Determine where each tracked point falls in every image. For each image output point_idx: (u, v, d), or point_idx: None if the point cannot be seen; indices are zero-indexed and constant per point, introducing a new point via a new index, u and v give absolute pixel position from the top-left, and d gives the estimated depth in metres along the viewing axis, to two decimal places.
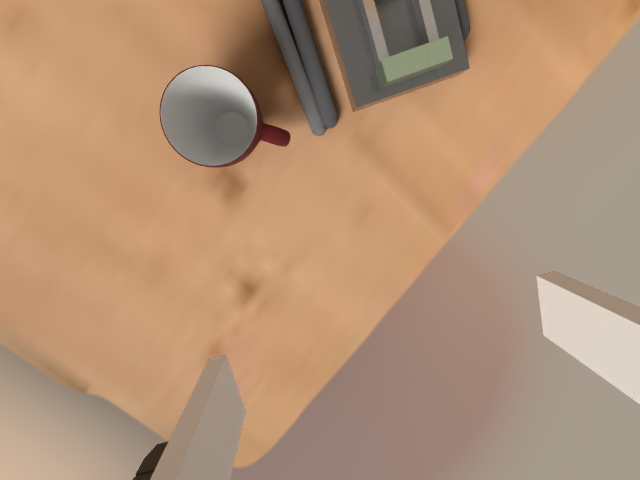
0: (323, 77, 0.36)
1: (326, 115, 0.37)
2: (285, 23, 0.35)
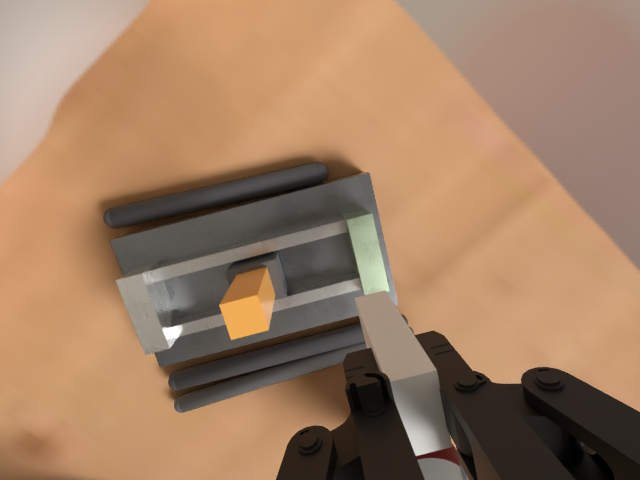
0: (356, 330, 0.33)
1: None
2: (300, 364, 0.34)
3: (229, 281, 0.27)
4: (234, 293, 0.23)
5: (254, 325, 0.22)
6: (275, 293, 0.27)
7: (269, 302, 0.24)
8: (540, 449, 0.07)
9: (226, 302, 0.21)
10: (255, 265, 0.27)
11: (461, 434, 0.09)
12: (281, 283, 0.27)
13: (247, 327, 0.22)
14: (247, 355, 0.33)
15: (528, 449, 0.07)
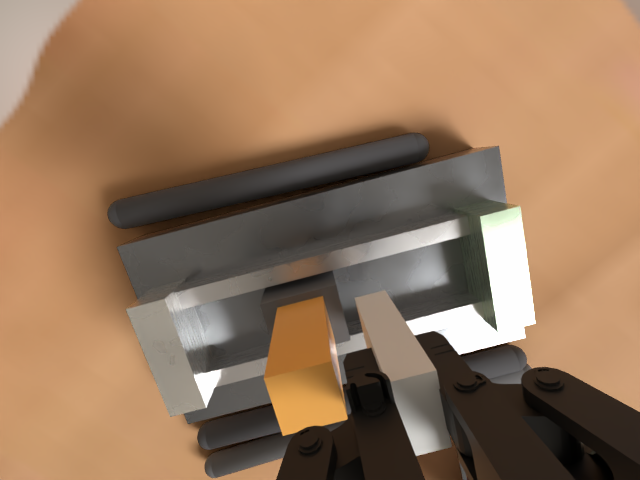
0: None
1: (511, 369, 0.24)
2: None
3: (266, 317, 0.18)
4: (285, 351, 0.13)
5: (323, 412, 0.12)
6: (334, 335, 0.18)
7: (336, 358, 0.15)
8: (540, 449, 0.07)
9: (276, 373, 0.12)
10: (305, 293, 0.18)
11: (461, 434, 0.09)
12: (343, 320, 0.18)
13: (311, 415, 0.12)
14: None
15: (528, 449, 0.07)
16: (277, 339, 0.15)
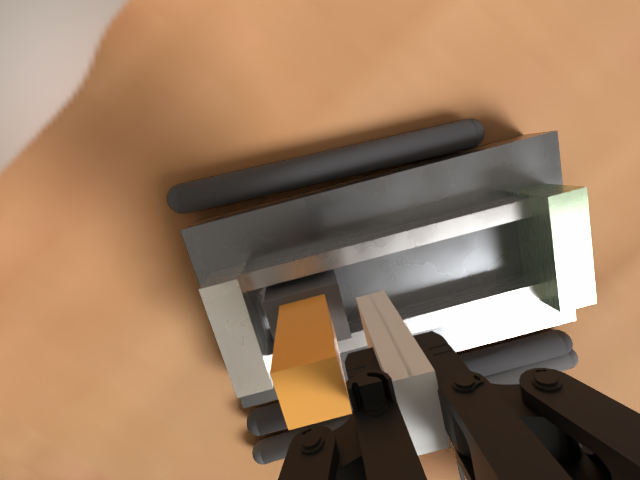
0: (505, 354, 0.24)
1: (557, 353, 0.24)
2: None
3: (268, 315, 0.18)
4: (290, 347, 0.14)
5: (328, 406, 0.13)
6: (336, 332, 0.19)
7: (338, 355, 0.15)
8: (538, 450, 0.07)
9: (282, 369, 0.12)
10: (307, 292, 0.18)
11: (459, 435, 0.09)
12: (345, 317, 0.18)
13: (316, 410, 0.13)
14: None
15: (526, 450, 0.07)
16: (281, 336, 0.15)
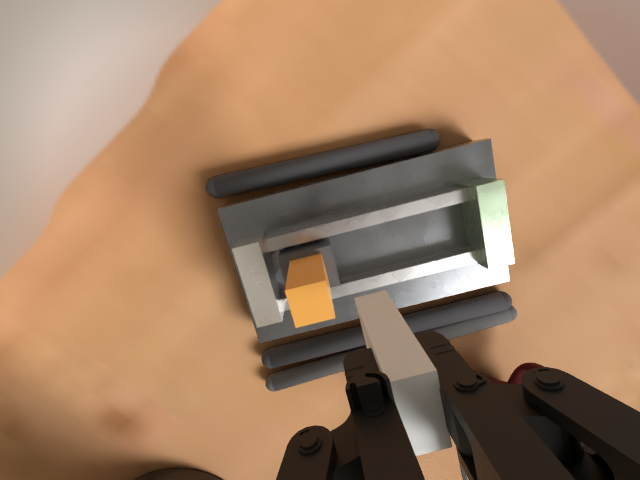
0: (459, 308, 0.32)
1: (500, 308, 0.32)
2: None
3: (281, 268, 0.26)
4: (297, 279, 0.21)
5: (320, 312, 0.20)
6: (329, 281, 0.26)
7: (329, 289, 0.23)
8: (540, 449, 0.07)
9: (292, 288, 0.20)
10: (309, 251, 0.26)
11: (461, 434, 0.09)
12: (335, 270, 0.26)
13: (313, 315, 0.20)
14: (344, 333, 0.32)
15: (528, 449, 0.07)
16: (291, 275, 0.22)
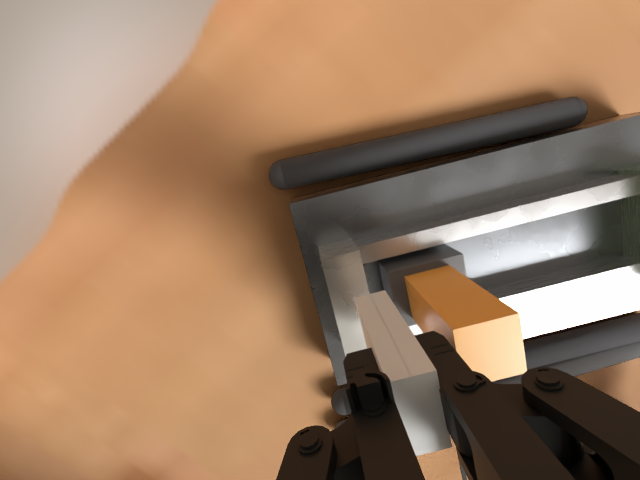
0: (593, 336, 0.24)
1: None
2: (511, 380, 0.25)
3: (392, 286, 0.18)
4: (455, 308, 0.14)
5: (505, 364, 0.13)
6: None
7: None
8: (540, 449, 0.07)
9: (464, 325, 0.12)
10: (433, 262, 0.18)
11: (461, 434, 0.09)
12: None
13: (493, 368, 0.13)
14: None
15: (528, 449, 0.07)
16: (433, 300, 0.15)
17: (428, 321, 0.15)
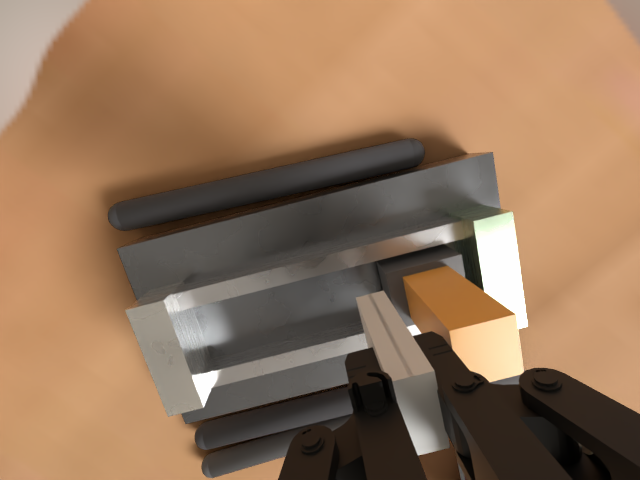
0: None
1: None
2: None
3: (390, 286, 0.18)
4: (452, 309, 0.14)
5: (502, 365, 0.13)
6: None
7: None
8: (538, 450, 0.07)
9: (460, 326, 0.12)
10: (431, 263, 0.18)
11: (459, 435, 0.09)
12: None
13: (490, 369, 0.13)
14: (302, 403, 0.25)
15: (526, 450, 0.07)
16: (431, 301, 0.15)
17: (426, 322, 0.15)
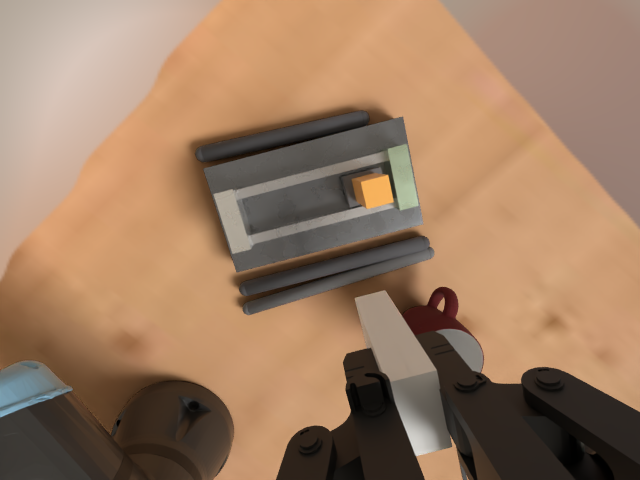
0: (389, 248, 0.42)
1: (420, 247, 0.42)
2: (344, 275, 0.42)
3: (345, 184, 0.36)
4: (366, 179, 0.31)
5: (384, 198, 0.30)
6: None
7: None
8: (540, 449, 0.07)
9: (365, 180, 0.30)
10: (365, 171, 0.35)
11: (461, 434, 0.09)
12: None
13: (379, 200, 0.30)
14: (302, 267, 0.42)
15: (528, 449, 0.07)
16: (359, 179, 0.32)
17: (358, 191, 0.33)
